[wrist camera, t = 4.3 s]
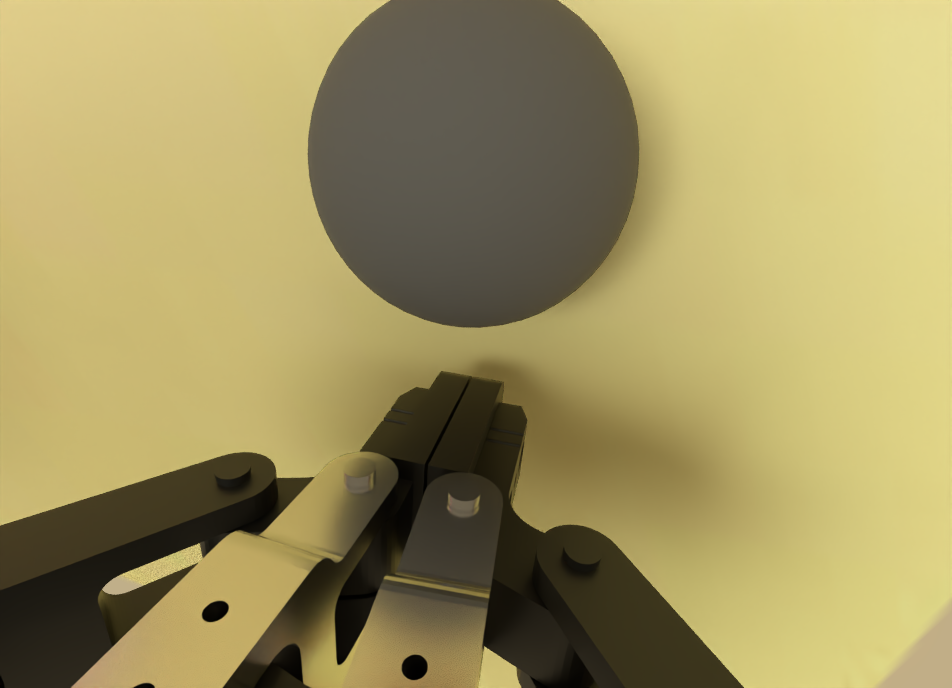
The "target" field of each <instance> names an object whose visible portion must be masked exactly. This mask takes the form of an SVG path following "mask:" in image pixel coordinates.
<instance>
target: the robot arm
mask: <svg viewBox="0 0 952 688" xmlns="http://www.w3.org/2000/svg"><path fill="white" fill-rule="evenodd" d="M503 391H504V382H500V381H495V380H489V379H483V378H478V377H473V378H472V377H471V376H466V375H460V374H455V373H449V372H443V371H441V372H440V373H439V375H438V377H437V378H436V380H435V381H434V383H433V384H432V386H431V387H430V389H423V388H418V387H416V388H414V389H412V390H410V391H408V392H407V393H405V394H403V395H401V396H400V397H399V398H398V400H397V401H396V402H395V404H394V405H393V407H392V408H391V411H389V412H388V413H387V415H386V416H385V417H384V421H382V422H381V423H380V424H379V426H378V427H377V428H376V430H375V431H374V432H373V434H372V435H371V437H370V438H369V439H368V441H367V442H366V443H365V445H364V446H363V447H362V449H361V450H360V452H354V453H349V454H345V455H342V456H340V457H338V458H335V459H334V460H332V461H331V462H329V463H328V464H327V465H326V466H325V467H324V468H323V469H322V470H321V471H320V472H319V474H318V475H317V476H316V477H310V478H277V477H276V468H275V465H274V463H273V462H272V461H271V460H270V459H269V458H267V457H266V456H263V455H260V454H257V453H248V452H242V453H233V454H228V455H224V456H221V457H217V458H214V459H211V460H208V461H205V462H202V463H198V464H195V465H192V466H189V467H186V468H182V469H179V470H176V471H173V472H170V473H167V474H163V475H160V476H157V477H154V478H151V479H147V480H144V481H141V482H138V483H135V484H132V485H128V486H125V487H122V488H119V489H116V490H112V491H109V492H106V493H103V494H100V495H97V496H93V497H90V498H87V499H84V500H81V501H77V502H74V503H71V504H68V505H65V506H62V507H58V508H55V509H52V510H49V511H46V512H42V513H39V514H36V515H33V516H30V517H27V518H23V519H20V520H17V521H14V522H11V523H7V524H4V525H1V526H0V688H478V686H479V679H480V672H481V665H482V658H483V651H484V646H485V647H487V648H488V649H490V650H491V651H493V652H494V653H496V654H497V655H499V656H500V657H502V658H503V659H505V660H506V661H508V662H509V663H511V664H512V665H514V666H516V667H517V676H518V680H519V683H520V685H521V688H744V687H743V686H742V685H741V684H740V683H739V682H738V680H737V679H736V678H735V677H734V676H733V675H732V674H731V673H730V671H729V670H728V669H727V668H726V667H725V666H724V665H723V664H722V663H721V661H720V660H719V659H718V658H717V657H716V656H715V655H714V654H713V653H712V651H711V650H710V649H709V648H708V647H707V646H706V645H705V644H704V643H703V641H702V640H701V639H700V638H699V637H698V636H697V635H696V634H695V633H694V631H693V630H692V629H691V628H690V627H689V626H688V625H687V624H686V622H685V621H684V620H683V619H682V618H681V617H680V616H679V615H678V614H677V612H676V611H675V610H674V609H673V608H672V607H671V606H670V605H669V604H668V602H667V601H666V600H665V599H664V598H663V597H662V596H661V595H660V594H659V592H658V591H657V590H656V589H655V588H654V587H653V586H652V585H651V583H650V582H649V581H648V580H647V579H646V578H645V577H644V576H643V575H642V573H641V572H640V571H639V570H638V569H637V568H636V567H635V566H634V565H633V563H632V562H631V561H630V560H629V559H628V558H627V557H626V556H625V555H624V553H623V552H622V551H621V550H620V549H619V548H618V547H617V546H616V545H615V544H614V543H613V542H612V541H611V540H610V539H609V538H607V537H606V536H605V535H603V534H601V533H600V532H598V531H595V530H593V529H590V528H587V527H584V526H578V525H562V526H558V527H555V528H552V529H550V530H549V531H547V532H546V533H543V532H541V531H539V530H537V529H535V528H533V527H531V526H530V525H528V524H527V523H525V522H524V521H523V520H522V519H521V518H520V517H519V516H518V515H517V514H516V513H515V512H514V510H513V508H512V504H513V500H514V496H515V491H516V487H517V483H518V479H519V474H520V468H521V461H522V454H523V447H524V440H525V433H526V426H527V418H526V416H525V414H524V411H523V409H522V407H521V406H516V405H510V404H505V403H502V400H503ZM198 543H200V546H201V551H202V557H203V559H202V560H201V561H200V562H199V563H196V564H194V565H192V566H189V567H187V568H185V569H182V570H180V571H177V572H175V573H173V574H170V575H168V576H166V577H163V578H161V579H158V580H156V581H154V582H151V583H149V584H146V585H144V586H142V587H139V588H137V589H135V590H132V591H130V592H127V593H124V594H119V595H112V594H107V593H105V592H104V591H103V590H102V588H103V587H104V586H105V585H106V584H107V583H108V582H109V581H111V580H112V579H113V578H115V577H117V576H119V575H121V574H123V573H125V572H128V571H130V570H133V569H135V568H138V567H140V566H143V565H145V564H148V563H151V562H153V561H156V560H158V559H161V558H163V557H166V556H168V555H171V554H173V553H176V552H178V551H181V550H183V549H186V548H188V547H191V546H193V545H196V544H198Z"/></svg>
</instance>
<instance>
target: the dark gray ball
mask: <svg viewBox="0 0 952 688" xmlns="http://www.w3.org/2000/svg"><path fill="white" fill-rule="evenodd" d="M638 162H639V140H638V128H637V121H636V117H635V112H634V108H633V103H632V99H631V97H630V94H629V91H628V88H627V86H626V83H625V80H624V77H623V76H622V74H621V72H620V70H619V68H618V66H617V64H616V62H615V60H614V59H613V57H612V55H611V54H610V52H609V51H608V50H607V48H606V47H605V45H604V44H603V43H602V41H601V40H600V39H599V37H598V36H597V34H596V33H595V32H594V31H593V30H592V29H591V28H590V27H589V26H588V25H587V24H586V23H585V22H584V21H583V20H582V19H581V18H580V17H579V16H578V15H577V14H575V13H574V12H573V11H571V10H570V9H569V8H567V7H566V6H565V5H563V4H562V3H561V2H559V1H558V0H390V1H389V2H387V3H386V4H384V5H383V6H382V7H380V8H379V9H377V10H376V11H374V12H373V13H372V14H370V15H369V16H368V17H367V18H366V19H365V20H364V21H363V22H362V23H361V24H360V25H359V26H358V27H356V28H355V29H354V30H353V32H352V33H351V34H350V35H349V37H348V38H347V39H346V41H345V42H344V43H343V44H342V46H341V47H340V48H339V50H338V52H337V53H336V55H335V57H334V58H333V60H332V62H331V63H330V65H329V67H328V69H327V71H326V74H325V76H324V78H323V81H322V83H321V85H320V88H319V91H318V94H317V97H316V101H315V104H314V108H313V111H312V116H311V122H310V129H309V138H308V165H309V177H310V182H311V187H312V193H313V197H314V200H315V204H316V207H317V210H318V214H319V216H320V219H321V221H322V223H323V226H324V228H325V230H326V233H327V235H328V236H329V238H330V240H331V242H332V244H333V245H334V247H335V249H336V251H337V252H338V253H339V255H340V256H341V258H342V259H343V260H344V262H345V263H346V265H347V266H348V267H349V268H350V269H351V270H352V271H353V273H354V274H355V275H356V276H357V277H358V278H359V279H360V280H361V281H362V282H363V283H364V284H365V285H366V286H367V287H369V288H370V289H371V290H372V291H373V292H374V293H376V294H377V295H379V296H380V297H381V298H383V299H384V300H386V301H387V302H388V303H390V304H392V305H394V306H396V307H397V308H399V309H401V310H403V311H405V312H407V313H409V314H412V315H414V316H417V317H419V318H422V319H424V320H428V321H431V322H435V323H439V324H442V325H449V326H456V327H476V328H481V327H489V326H498V325H504V324H508V323H512V322H516V321H520V320H524V319H526V318H529V317H531V316H534V315H537V314H539V313H541V312H543V311H545V310H547V309H549V308H550V307H552V306H554V305H556V304H558V303H559V302H560V301H562V300H563V299H565V298H566V297H567V296H569V295H570V294H571V293H573V292H574V291H575V290H577V289H578V288H579V287H580V286H581V285H582V284H583V283H584V282H585V281H586V280H587V279H588V278H589V277H590V276H592V275H593V273H594V272H595V271H596V270H597V268H598V267H599V266H600V265H601V264H602V262H603V261H604V260H605V259H606V257H607V256H608V254H609V252H610V251H611V249H612V248H613V246H614V244H615V243H616V241H617V240H618V237H619V235H620V233H621V231H622V229H623V227H624V224H625V222H626V220H627V217H628V214H629V211H630V208H631V204H632V201H633V198H634V193H635V187H636V182H637V176H638Z"/></svg>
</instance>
